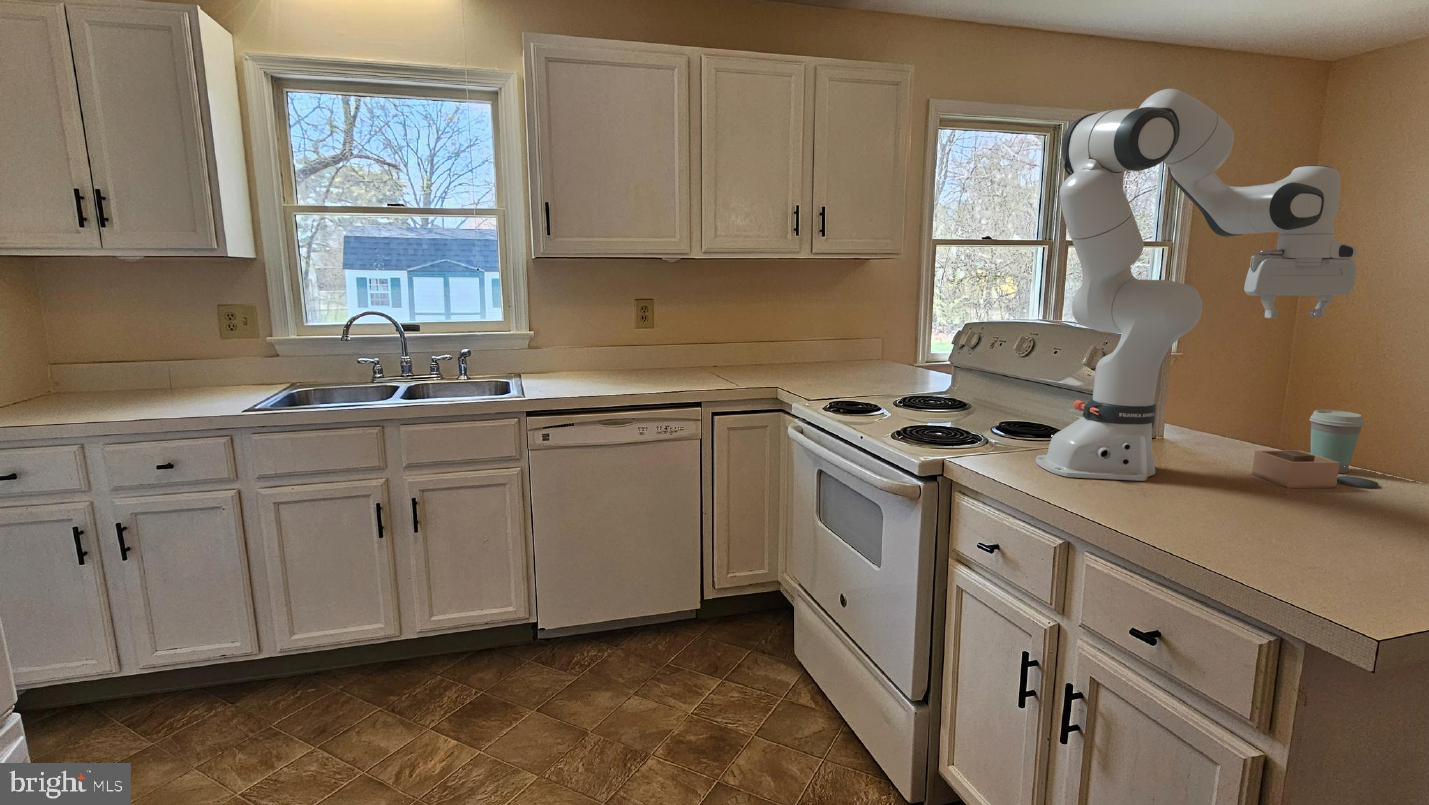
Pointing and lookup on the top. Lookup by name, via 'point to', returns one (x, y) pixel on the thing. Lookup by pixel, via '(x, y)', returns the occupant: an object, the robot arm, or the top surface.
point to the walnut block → (1296, 456)
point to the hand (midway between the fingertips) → (1293, 317)
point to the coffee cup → (1335, 435)
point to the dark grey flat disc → (1357, 482)
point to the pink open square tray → (1295, 470)
